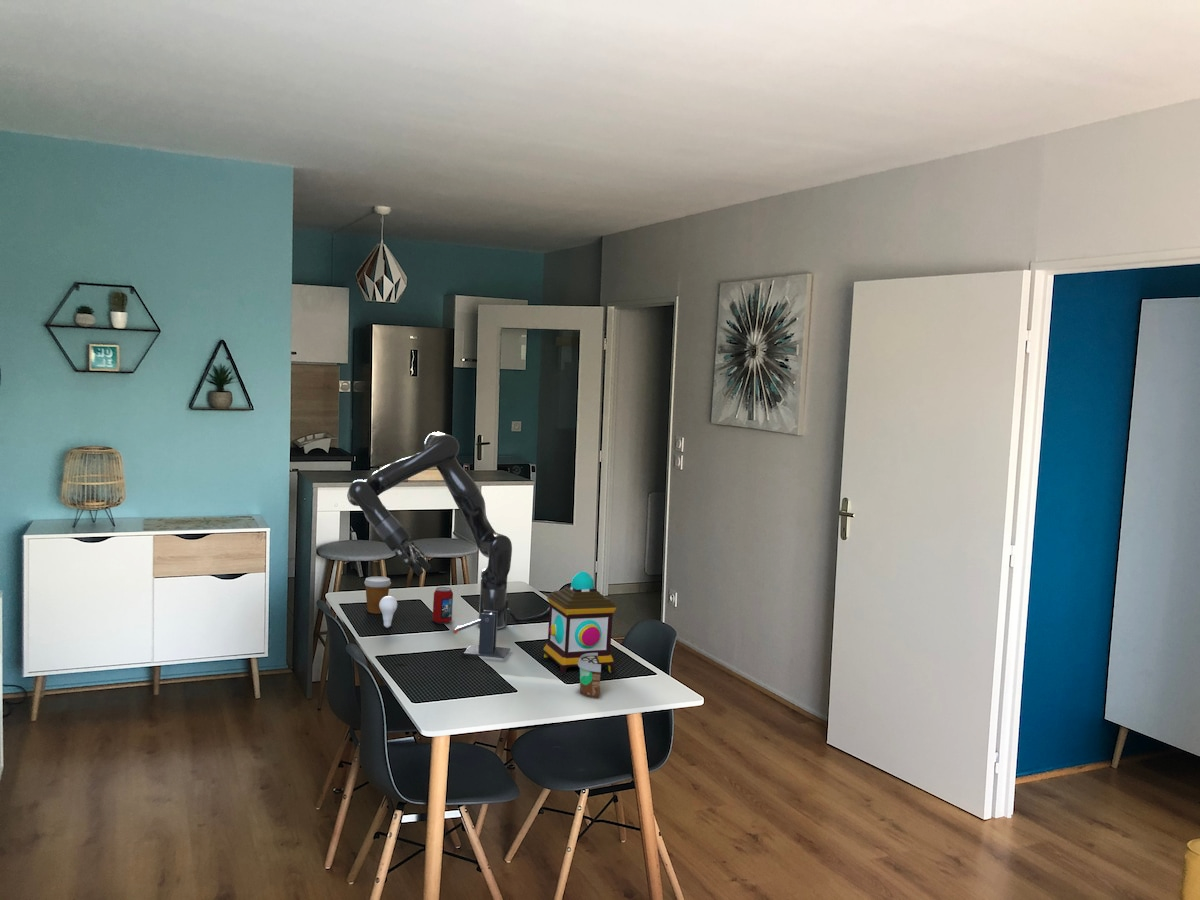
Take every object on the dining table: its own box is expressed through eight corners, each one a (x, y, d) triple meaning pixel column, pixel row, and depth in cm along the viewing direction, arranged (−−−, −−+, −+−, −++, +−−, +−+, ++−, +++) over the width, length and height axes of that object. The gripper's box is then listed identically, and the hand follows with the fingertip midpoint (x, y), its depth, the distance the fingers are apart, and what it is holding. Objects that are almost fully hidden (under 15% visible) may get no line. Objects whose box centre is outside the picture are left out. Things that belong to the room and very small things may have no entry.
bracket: (462, 657, 294) (465, 614, 293) (470, 648, 304) (473, 606, 303) (503, 661, 293) (506, 618, 292) (510, 652, 303) (512, 610, 302)
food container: (574, 684, 275) (576, 651, 274) (595, 685, 275) (597, 652, 275) (577, 699, 263) (579, 664, 262) (599, 700, 263) (601, 665, 262)
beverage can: (447, 625, 331) (449, 591, 330) (429, 623, 332) (431, 589, 331) (454, 620, 337) (456, 587, 336) (436, 618, 339) (438, 585, 338)
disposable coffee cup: (376, 616, 337) (377, 583, 336) (357, 611, 342) (358, 578, 341) (395, 611, 345) (396, 579, 344) (376, 606, 350) (377, 575, 349)
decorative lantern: (536, 658, 298) (542, 565, 296) (594, 655, 306) (599, 564, 304) (559, 678, 280) (564, 579, 277) (619, 674, 287) (625, 577, 285)
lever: (454, 635, 296) (452, 628, 296) (459, 631, 302) (456, 624, 302) (492, 622, 295) (489, 615, 295) (496, 617, 300) (493, 610, 300)
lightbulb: (399, 626, 325) (401, 595, 324) (390, 630, 319) (391, 599, 318) (384, 624, 327) (385, 593, 326) (374, 628, 321) (376, 596, 320)
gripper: (394, 528, 291) (427, 568, 291) (407, 522, 306) (439, 560, 305) (376, 543, 292) (409, 583, 292) (390, 536, 306) (422, 575, 306)
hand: (425, 571), depth 299 cm, fingers open, 8 cm apart
